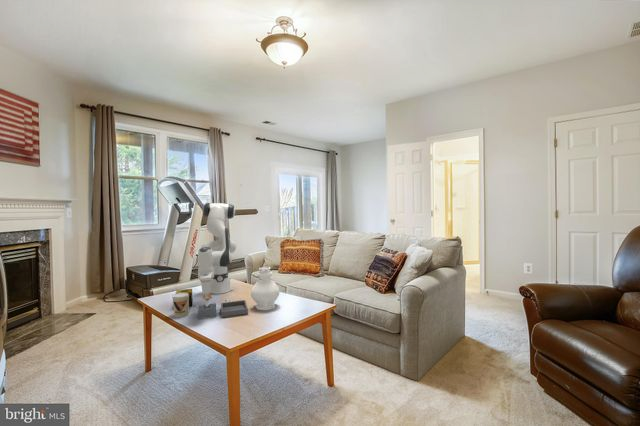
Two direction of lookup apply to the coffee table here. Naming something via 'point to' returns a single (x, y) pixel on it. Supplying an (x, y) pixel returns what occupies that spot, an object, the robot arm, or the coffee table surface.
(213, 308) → the hitch block
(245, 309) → the tray
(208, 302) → the pin
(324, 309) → the coffee table surface
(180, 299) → the coffee cup
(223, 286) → the robot arm
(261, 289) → the decorative vase
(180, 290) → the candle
